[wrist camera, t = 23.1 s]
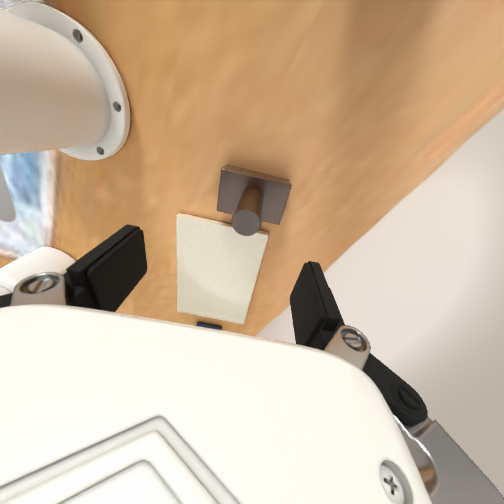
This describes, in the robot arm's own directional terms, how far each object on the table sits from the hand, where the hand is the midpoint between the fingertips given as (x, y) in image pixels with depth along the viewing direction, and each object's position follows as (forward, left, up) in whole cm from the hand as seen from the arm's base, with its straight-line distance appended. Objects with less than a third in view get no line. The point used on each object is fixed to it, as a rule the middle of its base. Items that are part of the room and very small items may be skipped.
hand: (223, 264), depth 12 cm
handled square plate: (+1, 0, -16) cm, 16 cm away
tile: (-3, -15, -16) cm, 23 cm away
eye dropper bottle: (-30, -18, -17) cm, 39 cm away
